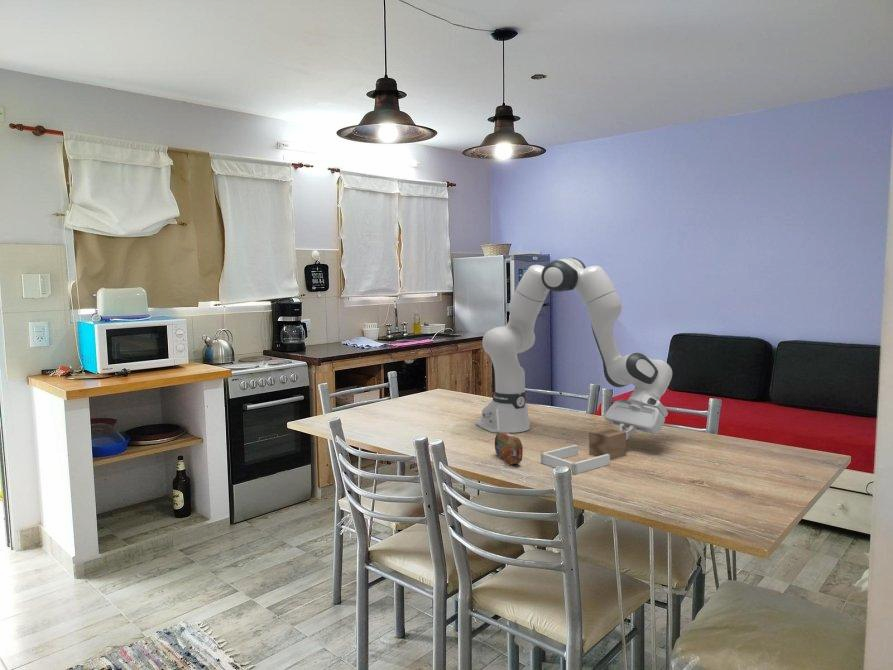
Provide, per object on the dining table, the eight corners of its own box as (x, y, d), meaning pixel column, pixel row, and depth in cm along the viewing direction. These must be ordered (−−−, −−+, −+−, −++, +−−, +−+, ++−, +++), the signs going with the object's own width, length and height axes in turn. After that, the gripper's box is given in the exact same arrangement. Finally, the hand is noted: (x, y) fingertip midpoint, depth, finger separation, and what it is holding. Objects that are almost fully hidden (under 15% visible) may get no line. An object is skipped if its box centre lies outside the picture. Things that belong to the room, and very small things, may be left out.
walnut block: (589, 454, 191) (589, 431, 190) (606, 450, 195) (606, 427, 195) (608, 460, 184) (608, 436, 184) (626, 455, 189) (626, 432, 188)
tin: (493, 455, 193) (493, 429, 193) (502, 453, 194) (502, 428, 194) (515, 468, 179) (514, 440, 178) (524, 466, 180) (524, 439, 180)
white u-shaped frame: (540, 462, 184) (540, 453, 183) (575, 453, 192) (575, 444, 192) (574, 474, 172) (574, 464, 172) (609, 464, 180) (609, 454, 180)
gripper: (612, 393, 205) (593, 425, 201) (664, 402, 188) (643, 438, 184) (621, 404, 208) (602, 436, 204) (672, 414, 191) (652, 450, 187)
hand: (622, 437), depth 193 cm, fingers closed
